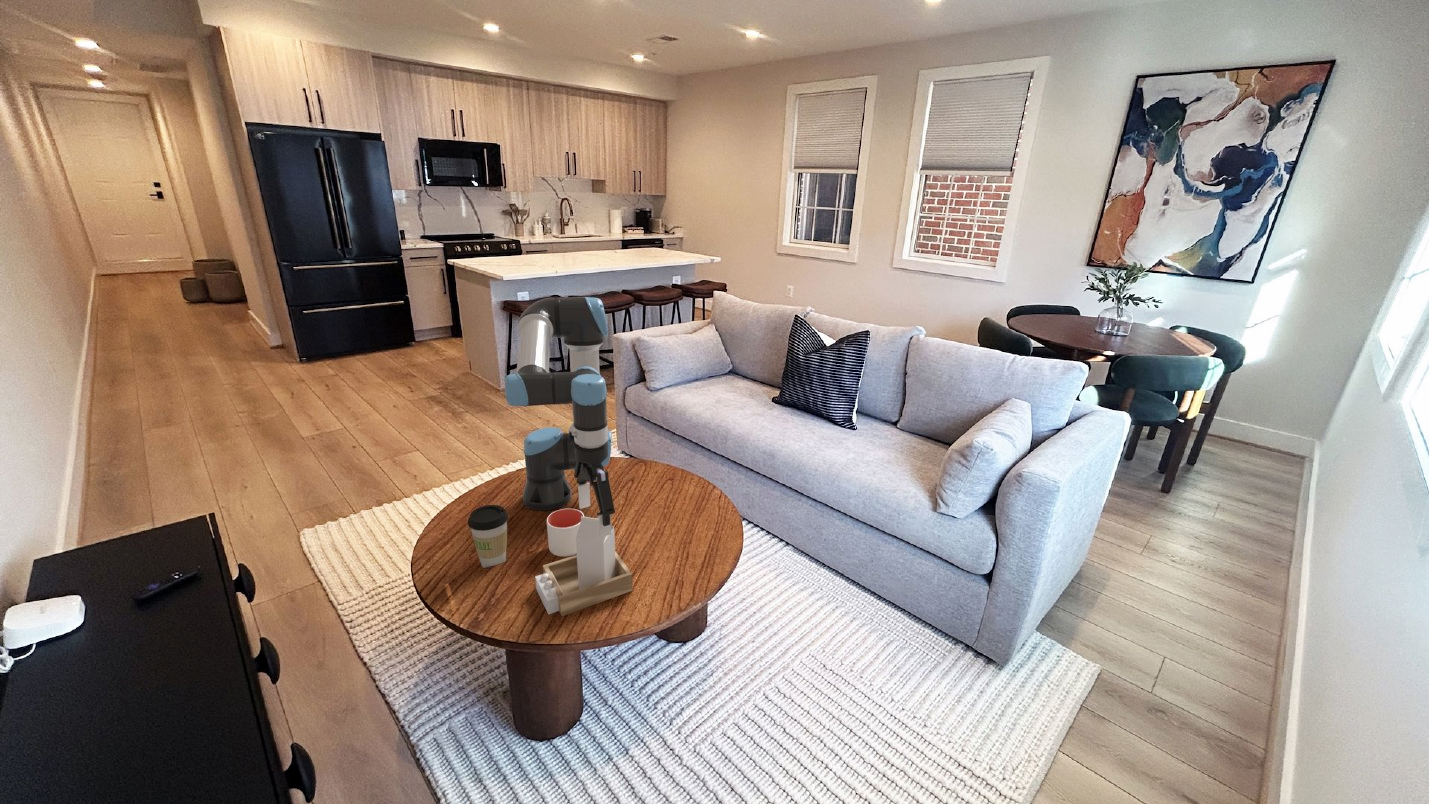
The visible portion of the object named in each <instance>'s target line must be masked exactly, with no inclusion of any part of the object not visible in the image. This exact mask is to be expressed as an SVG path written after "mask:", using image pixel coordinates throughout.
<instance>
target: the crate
mask: <svg viewBox="0 0 1429 804" xmlns="http://www.w3.org/2000/svg"><path fill="white" fill-rule="evenodd" d="M615 566H616V576H615V577H614V578H611V579H608V580H605V581H602V582H599V583H596V584H594V585H591V586H588V587H585V588H582V589H579V584H578V567H577V554H575V555H572V556H567V557H564V558H563V559H560V560H559V559H558V560H556V561H553V562H549V563H546V564H543V565H542V571H543V573H542V574H545V573H547V574H548V577H549V580H551V581H552V585H553V588H556V593H557V596H558V604H559V611H558V612H559V614H560V615H561V617H563V616H566V615H569V614H572V613H575V612H578V611H580V610H583V609H585V608H589V607H591V606H594V605H597V604H600V603H602V602H605V601H608V600H610V599H614V598H617V597H618V596H621V595H624V594H627V593H630V592H632V591H633V588H634V587H633V573H632V571H631V570H630V568H628V566H627V565H626V563H625V562H624V561H623V560H622V558H621V557H620V555H619V554H618V553H617V552H616V550H615ZM551 571H552V573H553V575H554V577H555V579H556V580H555V579H554V577H553V575H552V573H551ZM556 581H557V582H556ZM557 583H558V584H559V586H560V588H561V590H562V592H563V593H562V592H561V590H560V588H559V586H558V584H557ZM563 594H564V595H563Z"/></svg>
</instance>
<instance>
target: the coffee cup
mask: <svg viewBox="0 0 1429 804" xmlns="http://www.w3.org/2000/svg"><path fill="white" fill-rule="evenodd" d="M508 520H509V514H508V511H506V509H505V508H504V507H503V506H501V505H497V504H486V505H483V506H479V507H477V508H475V509H474V510H472V511H471V513H470V514H469V517H468V520H467V525H468V527H469V528H470V530H471V537H472V539H473V543H474V546H475V550H476V553H477V556H478V558H479V559H478V560H479V562H480V566H481V567H482V568H484V569H486V568H490V567H493V566H498V565H500V564H503V563H506V560H507V558H506V557H507V547H508V545H507V543H508V540H507V539H508V525H507V524H508V522H507V521H508Z"/></svg>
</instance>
